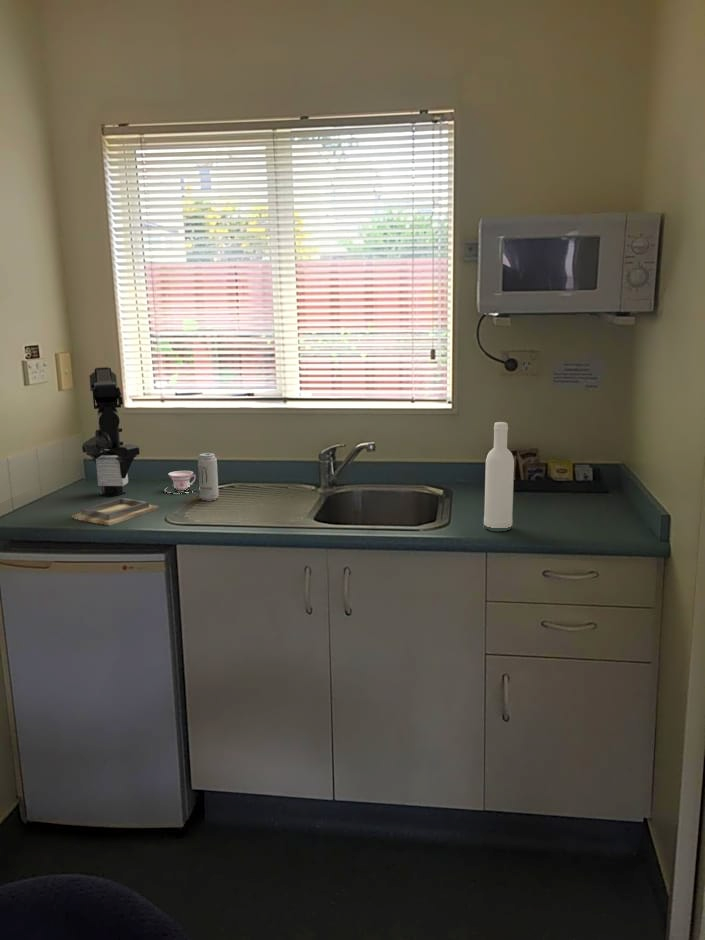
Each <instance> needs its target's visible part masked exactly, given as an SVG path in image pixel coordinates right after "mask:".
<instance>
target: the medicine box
mask: <svg viewBox="0 0 705 940" xmlns="http://www.w3.org/2000/svg"><path fill="white" fill-rule="evenodd" d="M116 457H118V456H100V457H98V458H96V464H95V466H96V475H97V486H99V487H102V486H122V487H124V486H126V485H127V484H128V483H129V477H128V473H127V475H126V477H125V478H122V476H121V471H120V463H119V461H118V460H117V459H116Z"/></svg>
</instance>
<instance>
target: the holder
mask: <svg viewBox="0 0 705 940" xmlns="http://www.w3.org/2000/svg"><path fill="white" fill-rule="evenodd" d="M158 510H160V507H159V505H154V504H150V502H148V501H143V500H136V499H132V498H125V497H119V498H116V499H113V500H108V501H106V502H103V503H99V504H97V505H92V506H89V507H85V508H83V509H82V508H81V509H80V512H78V513H75V514H72V515H71V519H72V518H74V519H73V520H77V519H78V521H82V520H83V521H84V522H88V523H93V524H98V523H99V525H103V524H104V526H113V525H116V524H120V523H122V522H125V521H127V520H130V519H134V518H136V517H140V516H143V515H145V514H148V513H149V514H150V513H151V512H154V511H158Z"/></svg>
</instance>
